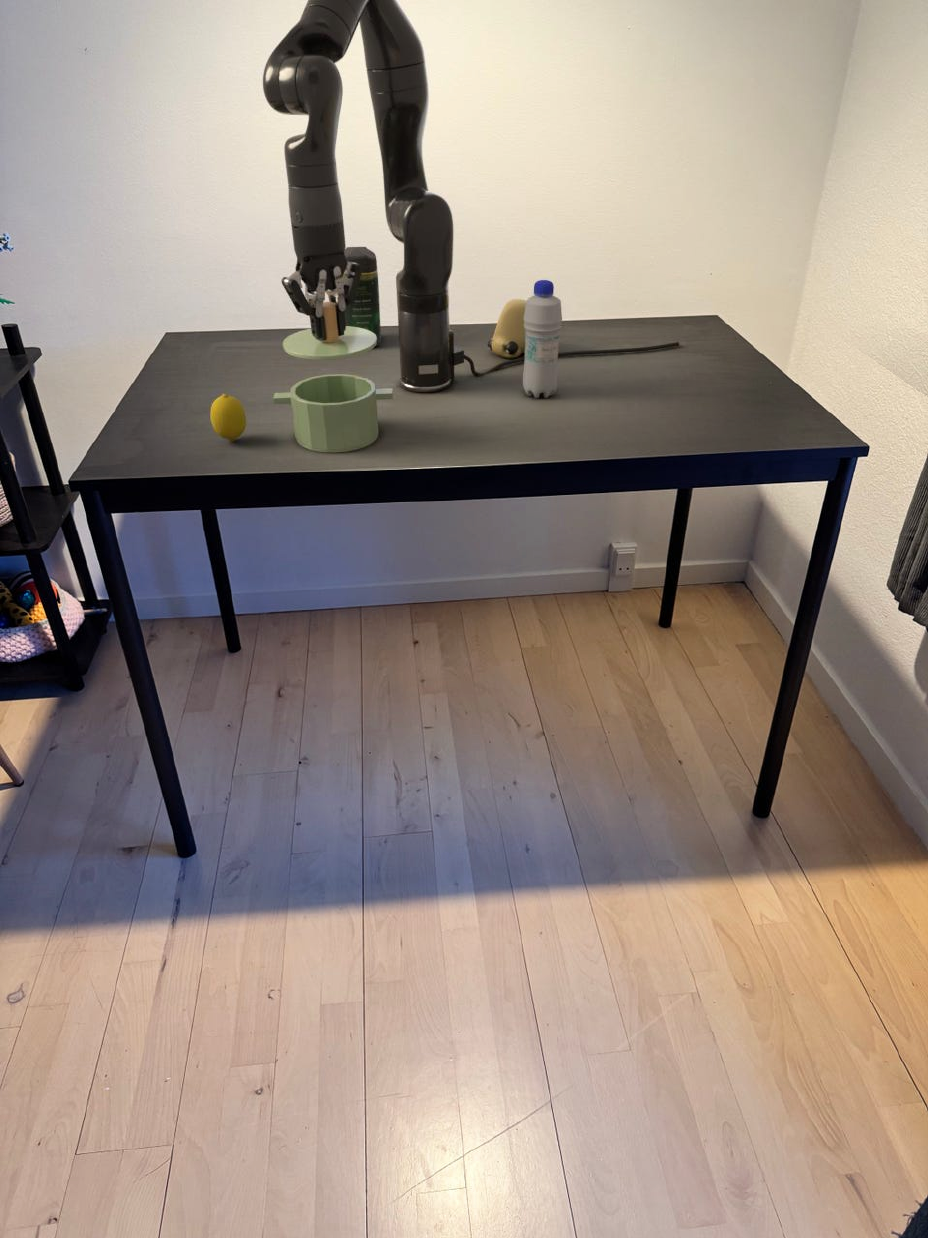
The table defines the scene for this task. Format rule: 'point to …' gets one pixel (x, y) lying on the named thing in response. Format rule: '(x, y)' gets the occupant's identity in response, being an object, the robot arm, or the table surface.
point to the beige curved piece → (510, 330)
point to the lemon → (228, 417)
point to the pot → (334, 411)
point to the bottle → (541, 340)
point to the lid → (330, 340)
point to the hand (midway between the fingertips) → (329, 336)
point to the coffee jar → (364, 293)
